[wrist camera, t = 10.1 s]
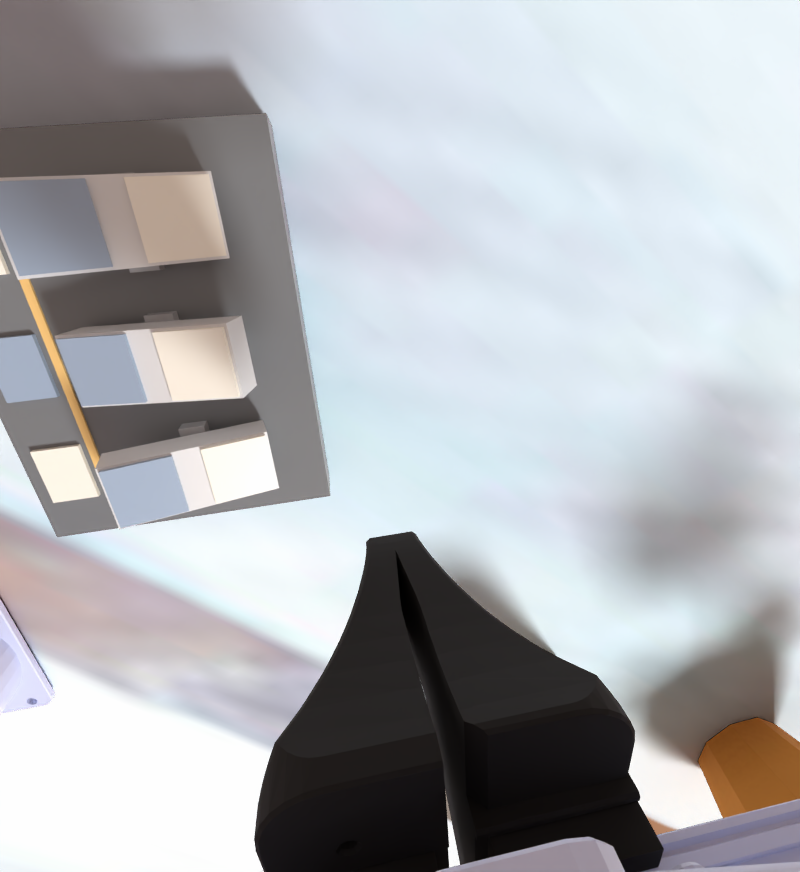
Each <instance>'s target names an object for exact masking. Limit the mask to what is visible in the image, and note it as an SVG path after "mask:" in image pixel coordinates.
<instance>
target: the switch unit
mask: <svg viewBox="0 0 800 872" xmlns="http://www.w3.org/2000/svg"><path fill="white" fill-rule="evenodd" d="M195 171H211V174H212V179H213V183H214V188H215V193H216V197H217V202H218V206H219V211H220V215H221V220H222V225H223V229H224V234H225V238H226V243H227V248H228V252H229V257H230V258H227V259H217V260H208V261H198V262H188V263H178V264H169V265H159V266H149V267H139V268H129V269H120V270H110V271H100V272H90V273H81V274H71V275H61V276H51V277H41V278H32V279H22V280H18V279H17V276H16V274H15V271H14V269H13V266H12V264H11V262H10V259H9V257H8V254H7V252H6V249H5V247H4V244H3V242H2V239H1V237H0V418H1V420H2V423H3V425H4V427H5V429H6V431H7V433H8V435H9V437H10V439H11V441H12V443H13V446H14V448H15V450H16V452H17V454H18V456H19V458H20V460H21V462H22V464H23V466H24V469H25V471H26V473H27V475H28V477H29V479H30V481H31V483H32V485H33V487H34V489H35V492H36V494H37V496H38V498H39V500H40V502H41V504H42V506H43V508H44V510H45V513H46V515H47V517H48V519H49V521H50V523H51V525H52V527H53V529H54V531H55V533H56V536H57V537H62V536H68V535H75V534H82V533H88V532H95V531H101V530H108V529H115V528H119V527H118V525H117V522H116V520H115V518H114V515H113V513H112V510H111V508H110V505H109V503H108V500H107V498H106V495H105V493H104V490H103V488H102V485H101V483H100V481H99V478H98V476H97V473H96V471H95V468H96V465H97V463H98V461H99V459H100V456H101V454H102V453H107V452H112V451H117V450H121V449H126V448H131V447H136V446H140V445H145V444H150V443H155V442H159V441H164V440H169V439H174V438H178V437H183V436H188V435H193V434H197V433H202V432H207V431H212V430H216V429H221V428H226V427H231V426H235V425H240V424H245V423H250V422H254V421H259V420H263V423H264V425H265V428H266V431H267V435H268V439H269V444H270V448H271V453H272V458H273V462H274V467H275V471H276V476H277V480H278V485H279V488H277V489H274V490H270V491H266V492H262V493H258V494H254V495H250V496H247V497H243V498H239V499H235V500H231V501H227V502H223V503H220V504H216V505H212V506H208V507H204V508H200V509H196V510H193V511H189V512H185V513H181V514H177V515H173V516H169V517H166V518H162V519H158V520H154V521H150V522H146V523H142V524H148V523H154V522H161V521H168V520H174V519H181V518H187V517H194V516H201V515H207V514H214V513H220V512H227V511H234V510H240V509H247V508H253V507H260V506H267V505H273V504H280V503H286V502H293V501H300V500H306V499H313V498H319V497H326V496H330V482H329V471H328V465H327V459H326V453H325V447H324V440H323V434H322V428H321V422H320V416H319V410H318V404H317V398H316V392H315V386H314V380H313V373H312V367H311V361H310V355H309V349H308V343H307V337H306V331H305V325H304V319H303V313H302V306H301V300H300V294H299V288H298V282H297V276H296V270H295V264H294V258H293V252H292V246H291V240H290V233H289V227H288V221H287V215H286V209H285V203H284V197H283V191H282V185H281V179H280V173H279V166H278V160H277V154H276V148H275V142H274V136H273V130H272V125H271V123H270V121H269V118H268V116H267V114H266V113H262V114H244V115H227V116H210V117H192V118H175V119H158V120H140V121H123V122H105V123H88V124H71V125H53V126H36V127H19V128H1V129H0V178H5V177H37V176H68V175H100V174H132V173H163V172H195ZM229 316H242V319H243V324H244V329H245V333H246V338H247V342H248V347H249V351H250V356H251V361H252V365H253V370H254V374H255V379H256V383H257V386H256V387H255V388H254V389H253V390H251V391H250V392H249V393H248V394H247V395H246V396H245V397H244V398H236V399H219V400H202V401H185V402H168V403H151V404H134V405H117V406H100V407H82V406H81V404H80V401H79V399H78V396H77V394H76V391H75V388H74V386H73V383H72V381H71V378H70V376H69V373H68V371H67V368H66V366H65V363H64V361H63V358H62V355H61V353H60V350H59V348H58V345H57V343H56V338H55V336H56V335H59V334H62V333H65V332H69V331H72V330H75V329H78V328H82V327H93V326H106V325H120V324H133V323H147V322H161V321H174V320H188V319H202V318H215V317H229ZM139 525H141V524H139Z"/></svg>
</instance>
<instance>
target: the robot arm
mask: <svg viewBox="0 0 800 872" xmlns="http://www.w3.org/2000/svg"><path fill="white" fill-rule="evenodd" d="M366 546H367V549H366V560H365V565H364V571H363V575H362V579H361V583H360V587H359V590H358V594H357V597H356V600H355V603H354V606H353V609H352V612H351V614H350V617H349V620H348V622H347V625H346V627H345V629H344V632H343V634H342V636H341V638H340V641H339V643H338V645H337V647H336V649H335V651H334V653H333V655H332V657H331V659H330V661H329V663H328V665H327V666H326V668H325V670H324V672H323V674H322V675H321V677H320V679H319V680H318V682H317V683H316V685H315V687H314V688H313V690H312V691H311V693H310V694H309V696H308V698H307V699H306V701H305V702H304V704H303V705H302V707H301V708H300V710H299V711H298V713H297V714H296V715H295V717H294V718H293V719H292V721H291V722H290V723H289V725H288V726H287V727H286V729H285V730H284V731H283V733H282V734H281V735H280V737H279V738H278V739H277V741H276V742H275V744H274V747H273V750H272V753H271V756H270V759H269V762H268V765H267V769H266V772H265V776H264V780H263V784H262V788H261V793H260V798H259V803H258V810H257V819H256V829H255V838H254V840H255V847H256V852H257V855H258V857H259V860H260V862H261V865H262V867H263V870H264V872H800V799H797V800H793V801H789V802H785V803H781V804H777V805H773V806H769V807H765V808H761V809H757V810H753V811H750V812H746V813H742V814H738V815H734V816H730V817H726V818H722V819H718V820H714V821H710V822H706V823H702V824H698V825H694V826H690V827H687V828H683V829H679V830H675V831H671V832H667V833H663V834H659V835H656V834H655V832H654V830H653V828H652V827H651V825H650V823H649V821H648V819H647V817H646V816H645V814H644V812H643V810H642V808H641V807H640V805H639V803H638V801H639V799H640V794H639V791H638V789H637V787H636V786H635V784H634V782H633V780H632V779H631V777H630V775H629V773H628V770H629V766H630V761H631V756H632V752H633V747H634V742H635V730H634V728H633V726H632V724H631V721H630V720H629V718H628V717H627V715H626V713H625V712H624V710H623V709H622V707H621V706H620V704H619V703H618V701H617V700H616V699H615V698H614V696H613V695H612V694H611V692H610V691H609V690H608V689H607V688H606V686H605V685H604V684H603V683H602V681H601V680H600V679H599V678H598V676H597V675H595V674H593V673H591V672H588V671H586V670H584V669H582V668H580V667H578V666H576V665H574V664H571V663H569V662H567V661H565V660H563V659H561V658H559V657H557V656H555V655H553V654H551V653H549V652H548V651H546V650H544V649H542V648H540V647H539V646H537V645H535V644H533V643H532V642H530V641H529V640H527V639H526V638H524V637H523V636H521V635H519V634H518V633H516V632H515V631H513V630H512V629H510V628H509V627H507V626H506V625H505V624H503V623H502V622H501V621H499V620H498V619H496V618H495V617H494V616H492V615H491V614H490V613H489V612H487V611H486V610H485V609H484V608H483V607H481V606H480V605H479V604H478V603H477V602H475V601H474V600H473V599H472V598H471V597H470V596H469V595H468V594H467V593H466V592H465V591H464V590H462V589H461V588H460V587H459V586H458V585H457V584H456V583H455V582H454V581H453V580H452V579H451V578H450V576H449V575H448V574H447V573H446V572H445V571H444V570H443V569H442V568H441V567H440V566H439V564H438V563H437V562H436V561H435V560H434V559H433V557H432V556H431V555H430V554H429V552H428V551H427V550H426V549H425V547H424V546H423V544H422V543H421V542H420V540H419V539H418V537H417V536H416V534H415V533H413V532H406V533H400V534H394V535H387V536H381V537H375V538H370V539H369V540H368V541H367V542H366ZM419 677H420V678H419ZM421 684H422V685H421ZM422 687H423V688H422ZM423 691H424V692H423ZM424 694H425V695H424ZM54 696H55V692H54V690H53V689H52V687H51V685H50V684H49V682H48V680H47V678H46V677H45V675H44V673H43V672H42V670H41V668H40V666H39V665H38V663H37V661H36V659H35V658H34V656H33V654H32V653H31V651H30V649H29V647H28V646H27V644H26V642H25V641H24V639H23V637H22V635H21V634H20V632H19V630H18V629H17V627H16V625H15V623H14V622H13V620H12V618H11V616H10V615H9V613H8V611H7V610H6V608H5V606H4V604H3V603H2V601H1V599H0V715H1V713H5V712H11V711H16V710H21V709H26V708H32V707H37V706H42V705H47V704H49V703H50V702H52V700H53V698H54ZM425 697H426V698H425ZM426 701H427V702H426ZM445 790H446V794H445ZM446 795H447V800H448V804H449V810H450V814H451V820H452V825H453V830H454V835H455V840H456V845H457V850H458V855H459V860H460V865H458V866H454V867H450V868H449V859H448V847H449V841H448V825H447V810H446Z"/></svg>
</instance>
